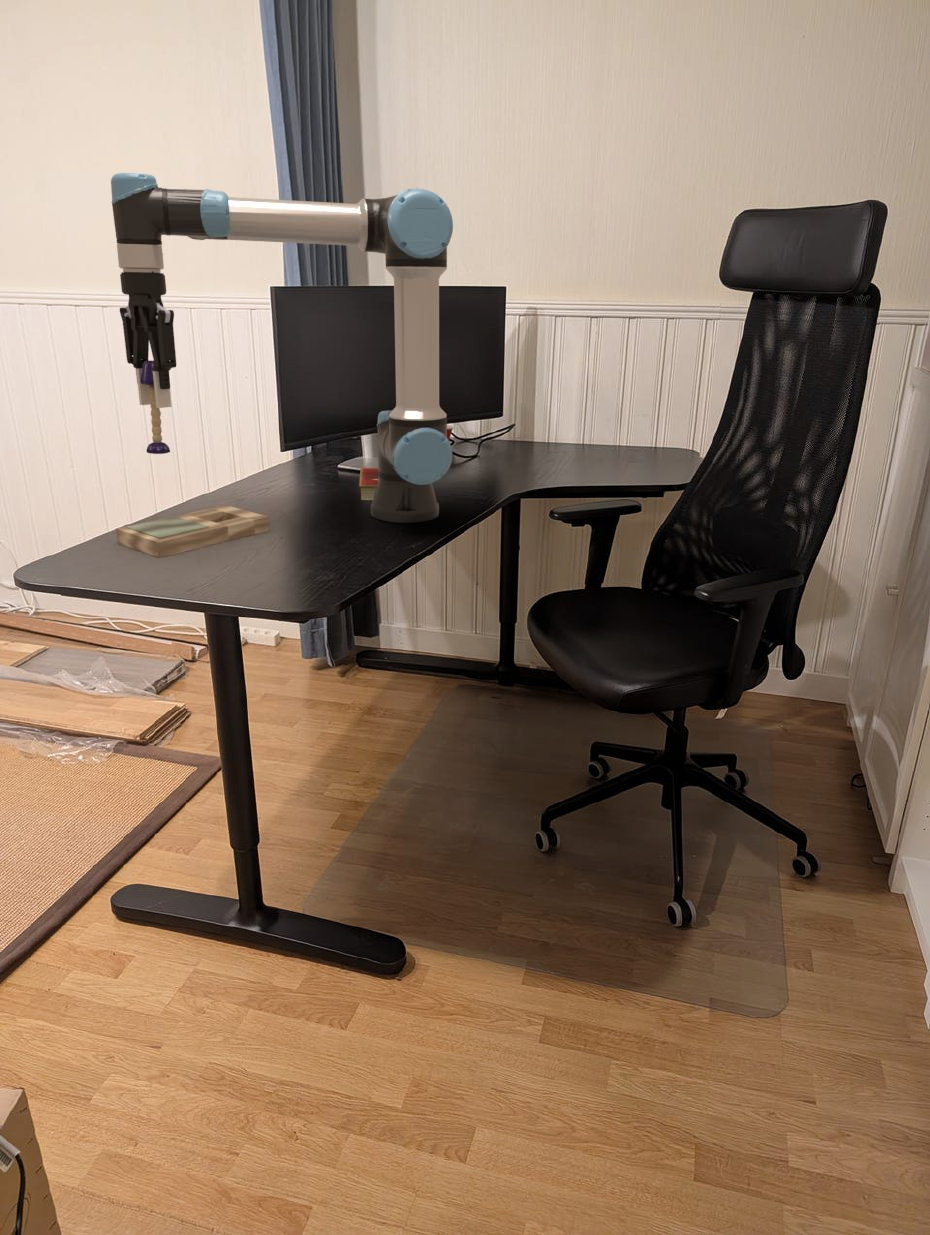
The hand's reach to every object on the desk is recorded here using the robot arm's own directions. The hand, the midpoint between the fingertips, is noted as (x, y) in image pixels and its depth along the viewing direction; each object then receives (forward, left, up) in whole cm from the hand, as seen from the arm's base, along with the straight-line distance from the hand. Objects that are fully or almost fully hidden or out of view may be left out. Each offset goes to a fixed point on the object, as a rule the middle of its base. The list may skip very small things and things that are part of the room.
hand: (155, 405), depth 166 cm
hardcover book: (+2, -63, -27) cm, 68 cm away
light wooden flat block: (0, -6, -27) cm, 27 cm away
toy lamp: (0, 0, -9) cm, 9 cm away
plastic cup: (+11, -93, -27) cm, 98 cm away
